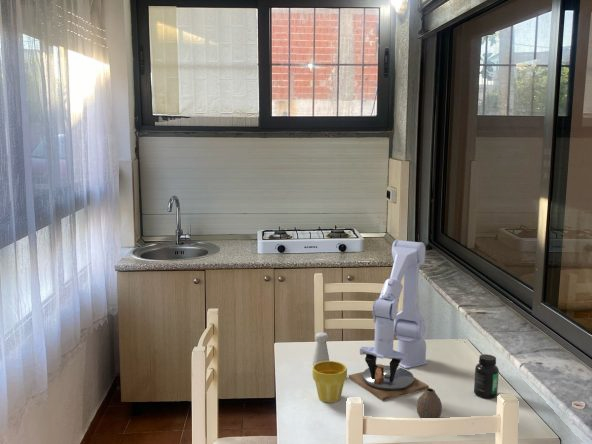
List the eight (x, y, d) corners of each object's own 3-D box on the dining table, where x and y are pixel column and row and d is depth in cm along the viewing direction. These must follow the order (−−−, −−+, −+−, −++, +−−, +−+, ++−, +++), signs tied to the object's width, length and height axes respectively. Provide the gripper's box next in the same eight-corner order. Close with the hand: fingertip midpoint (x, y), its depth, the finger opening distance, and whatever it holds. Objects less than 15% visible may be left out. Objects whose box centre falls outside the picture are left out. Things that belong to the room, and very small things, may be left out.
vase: (413, 413, 171) (414, 384, 170) (436, 412, 172) (438, 384, 170) (420, 425, 164) (421, 395, 163) (444, 424, 165) (446, 395, 163)
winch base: (393, 367, 203) (393, 364, 202) (428, 388, 187) (428, 385, 187) (348, 378, 194) (348, 375, 194) (382, 400, 179) (382, 397, 178)
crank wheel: (377, 364, 201) (377, 346, 200) (421, 376, 192) (422, 357, 191) (353, 381, 188) (354, 361, 187) (400, 395, 179) (401, 374, 178)
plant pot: (304, 396, 181) (305, 366, 179) (329, 387, 187) (329, 357, 186) (329, 409, 173) (329, 377, 171) (353, 398, 180) (354, 368, 178)
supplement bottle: (500, 399, 180) (502, 361, 178) (477, 399, 180) (480, 361, 178) (492, 389, 187) (495, 353, 185) (471, 389, 187) (473, 352, 185)
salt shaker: (328, 375, 196) (329, 337, 194) (311, 373, 197) (311, 336, 195) (330, 368, 202) (331, 331, 200) (314, 366, 203) (314, 329, 201)
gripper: (357, 338, 181) (355, 380, 184) (404, 346, 175) (402, 389, 178) (364, 330, 188) (362, 371, 190) (410, 338, 182) (408, 380, 184)
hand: (382, 379), depth 184 cm, fingers open, 5 cm apart
